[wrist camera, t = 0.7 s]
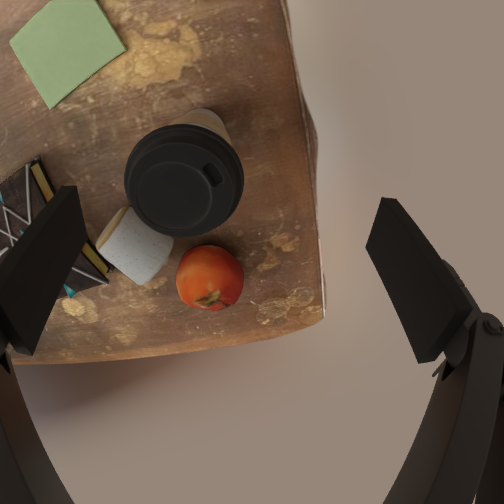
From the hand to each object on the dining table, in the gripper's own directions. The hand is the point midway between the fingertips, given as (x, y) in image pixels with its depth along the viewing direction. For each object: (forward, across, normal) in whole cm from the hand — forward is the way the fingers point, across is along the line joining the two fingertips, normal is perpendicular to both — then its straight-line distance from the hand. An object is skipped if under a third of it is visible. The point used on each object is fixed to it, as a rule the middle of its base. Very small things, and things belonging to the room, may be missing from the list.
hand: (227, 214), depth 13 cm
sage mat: (+24, -20, +8) cm, 32 cm away
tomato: (+24, -2, -23) cm, 33 cm away
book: (+24, -28, -18) cm, 42 cm away
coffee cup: (+24, -3, -4) cm, 25 cm away
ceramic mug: (+24, -12, -18) cm, 33 cm away
